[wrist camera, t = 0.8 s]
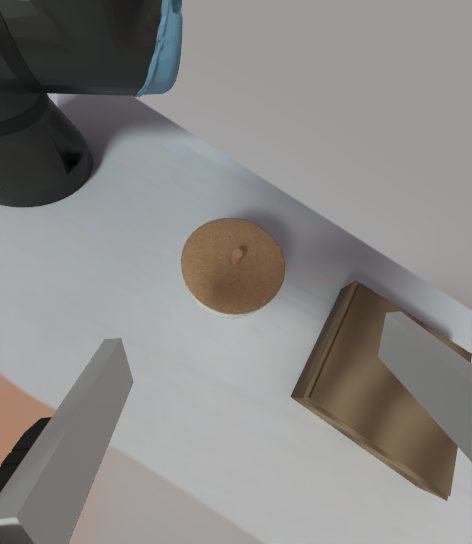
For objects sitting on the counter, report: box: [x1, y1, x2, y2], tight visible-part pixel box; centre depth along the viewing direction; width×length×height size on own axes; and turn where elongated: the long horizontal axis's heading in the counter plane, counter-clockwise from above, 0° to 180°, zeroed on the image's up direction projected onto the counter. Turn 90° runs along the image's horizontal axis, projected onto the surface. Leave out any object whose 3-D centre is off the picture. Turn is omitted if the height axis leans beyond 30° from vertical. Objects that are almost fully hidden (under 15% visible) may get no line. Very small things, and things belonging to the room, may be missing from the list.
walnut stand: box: [291, 281, 472, 500], centre depth 29 cm, size 16×16×4 cm
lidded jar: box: [181, 218, 285, 319], centre depth 28 cm, size 11×11×9 cm
